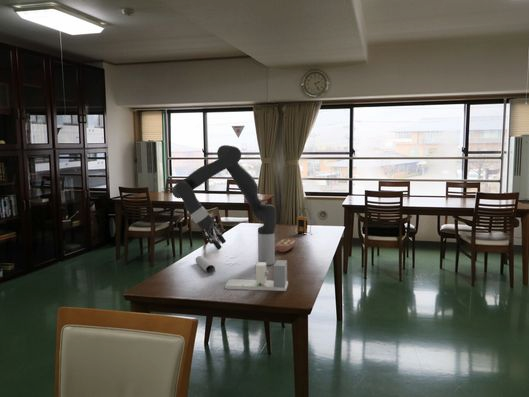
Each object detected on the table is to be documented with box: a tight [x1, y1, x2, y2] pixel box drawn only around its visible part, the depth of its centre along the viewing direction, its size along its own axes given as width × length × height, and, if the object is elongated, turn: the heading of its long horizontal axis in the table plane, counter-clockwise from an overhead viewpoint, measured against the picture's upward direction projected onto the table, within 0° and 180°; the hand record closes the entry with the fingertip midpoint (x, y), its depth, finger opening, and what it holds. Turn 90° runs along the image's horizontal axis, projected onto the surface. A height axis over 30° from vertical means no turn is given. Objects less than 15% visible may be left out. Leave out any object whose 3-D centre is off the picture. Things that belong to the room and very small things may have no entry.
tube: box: [195, 255, 216, 276], centre depth 239 cm, size 5×5×25 cm
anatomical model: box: [275, 237, 296, 253], centre depth 282 cm, size 23×10×5 cm, turn 162°
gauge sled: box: [255, 261, 269, 286], centre depth 205 cm, size 8×5×9 cm, turn 171°
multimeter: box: [292, 207, 312, 234], centre depth 333 cm, size 15×10×20 cm
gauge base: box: [224, 259, 289, 292], centre depth 206 cm, size 10×28×12 cm, turn 81°
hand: (222, 245), depth 211 cm, fingers open, 8 cm apart
